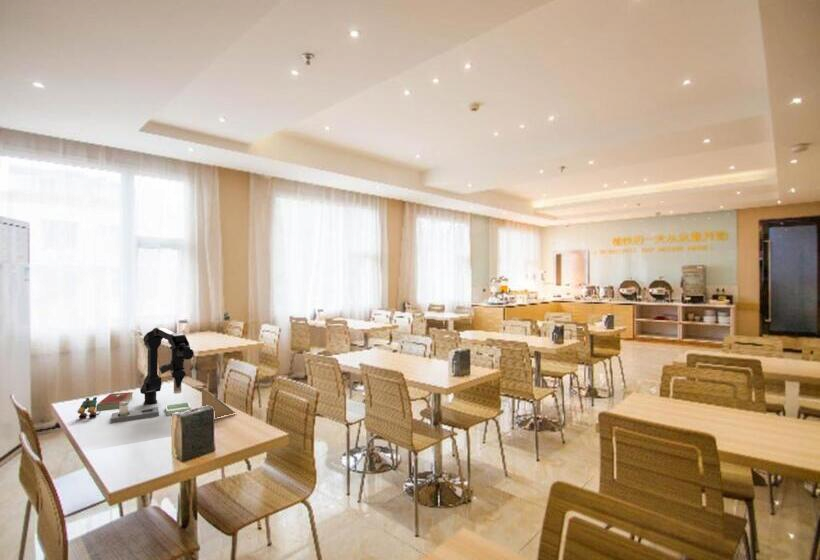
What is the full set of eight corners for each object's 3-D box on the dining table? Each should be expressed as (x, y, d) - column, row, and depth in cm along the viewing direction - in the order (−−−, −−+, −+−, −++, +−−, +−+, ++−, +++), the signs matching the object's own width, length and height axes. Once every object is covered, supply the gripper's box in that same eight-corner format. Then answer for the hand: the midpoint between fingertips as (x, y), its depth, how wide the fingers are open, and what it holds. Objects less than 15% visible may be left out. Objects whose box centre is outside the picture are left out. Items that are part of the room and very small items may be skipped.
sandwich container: (238, 414, 221) (238, 385, 221) (207, 421, 210) (207, 391, 210) (232, 410, 227) (232, 383, 227) (201, 417, 217) (201, 388, 217)
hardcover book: (96, 411, 227) (96, 403, 227) (109, 400, 247) (109, 393, 247) (122, 408, 231) (122, 401, 231) (133, 398, 251) (133, 391, 251)
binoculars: (78, 423, 213) (73, 409, 208) (84, 408, 220) (79, 395, 215) (99, 421, 216) (95, 407, 211) (105, 407, 223) (101, 394, 218)
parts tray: (165, 409, 228) (165, 405, 228) (188, 406, 234) (188, 402, 234) (166, 416, 218) (166, 411, 218) (191, 412, 224) (191, 407, 224)
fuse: (119, 417, 213) (119, 401, 213) (128, 416, 215) (128, 400, 215) (119, 419, 210) (119, 403, 210) (128, 418, 212) (128, 402, 212)
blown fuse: (173, 392, 226) (173, 377, 226) (181, 391, 228) (181, 376, 228) (174, 393, 223) (174, 378, 223) (181, 392, 225) (181, 377, 225)
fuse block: (112, 418, 214) (112, 413, 214) (158, 411, 225) (158, 406, 225) (111, 423, 206) (111, 418, 206) (158, 416, 217) (158, 411, 217)
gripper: (159, 356, 229) (159, 385, 229) (160, 362, 213) (160, 393, 214) (182, 354, 235) (182, 382, 235) (185, 360, 219) (185, 390, 219)
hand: (177, 386), depth 226 cm, fingers closed on blown fuse, 4 cm apart
